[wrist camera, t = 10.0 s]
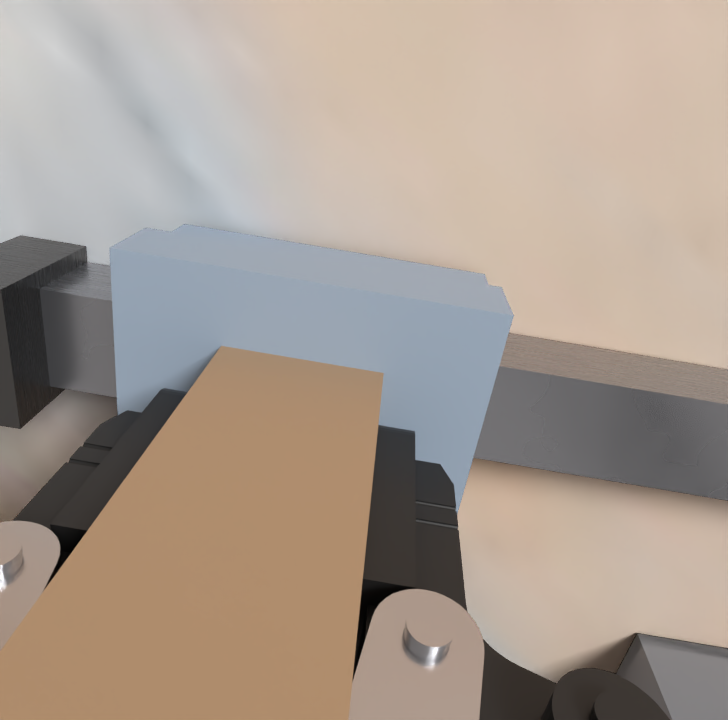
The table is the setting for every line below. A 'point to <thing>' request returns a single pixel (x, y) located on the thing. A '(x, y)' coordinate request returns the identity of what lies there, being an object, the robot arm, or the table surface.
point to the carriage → (251, 475)
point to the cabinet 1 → (679, 676)
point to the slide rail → (504, 412)
